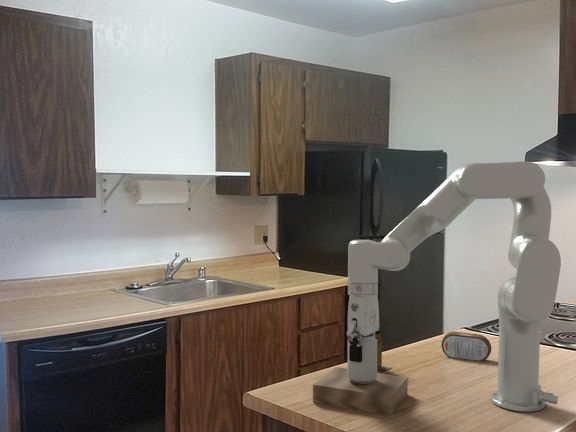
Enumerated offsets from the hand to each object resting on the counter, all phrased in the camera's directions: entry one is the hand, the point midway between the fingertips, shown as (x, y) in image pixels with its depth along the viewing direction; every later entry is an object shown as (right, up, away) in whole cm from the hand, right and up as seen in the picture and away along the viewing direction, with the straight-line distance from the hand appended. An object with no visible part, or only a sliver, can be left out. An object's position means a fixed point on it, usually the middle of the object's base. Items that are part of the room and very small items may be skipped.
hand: (362, 357), depth 153 cm
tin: (+37, -9, +35) cm, 52 cm away
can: (0, -6, 0) cm, 6 cm away
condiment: (+7, -10, +26) cm, 28 cm away
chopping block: (0, -11, +1) cm, 11 cm away
